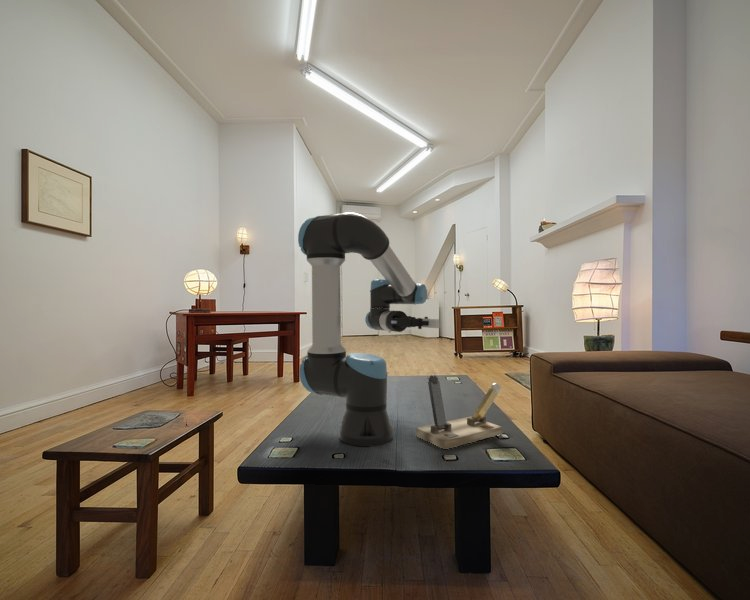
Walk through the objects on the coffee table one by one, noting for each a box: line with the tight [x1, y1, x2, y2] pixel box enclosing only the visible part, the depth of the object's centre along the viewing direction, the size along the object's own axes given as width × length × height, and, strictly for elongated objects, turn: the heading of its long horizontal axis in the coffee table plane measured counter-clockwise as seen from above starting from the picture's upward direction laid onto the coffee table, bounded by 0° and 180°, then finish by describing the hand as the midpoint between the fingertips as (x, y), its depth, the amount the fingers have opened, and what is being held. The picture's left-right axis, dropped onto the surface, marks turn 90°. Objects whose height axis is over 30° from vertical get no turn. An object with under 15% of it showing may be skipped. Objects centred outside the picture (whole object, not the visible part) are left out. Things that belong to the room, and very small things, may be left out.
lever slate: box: [427, 374, 447, 430], centre depth 105 cm, size 3×3×15 cm
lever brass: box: [471, 382, 502, 422], centre depth 108 cm, size 3×3×15 cm
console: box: [415, 415, 503, 449], centre depth 107 cm, size 12×22×4 cm, turn 122°
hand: (437, 323), depth 115 cm, fingers closed
